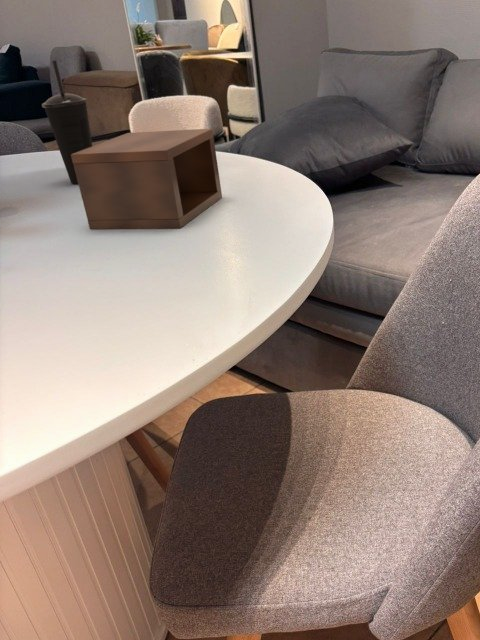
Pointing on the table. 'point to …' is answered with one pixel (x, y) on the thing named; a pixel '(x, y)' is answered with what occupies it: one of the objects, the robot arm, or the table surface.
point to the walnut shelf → (148, 179)
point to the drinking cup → (68, 124)
